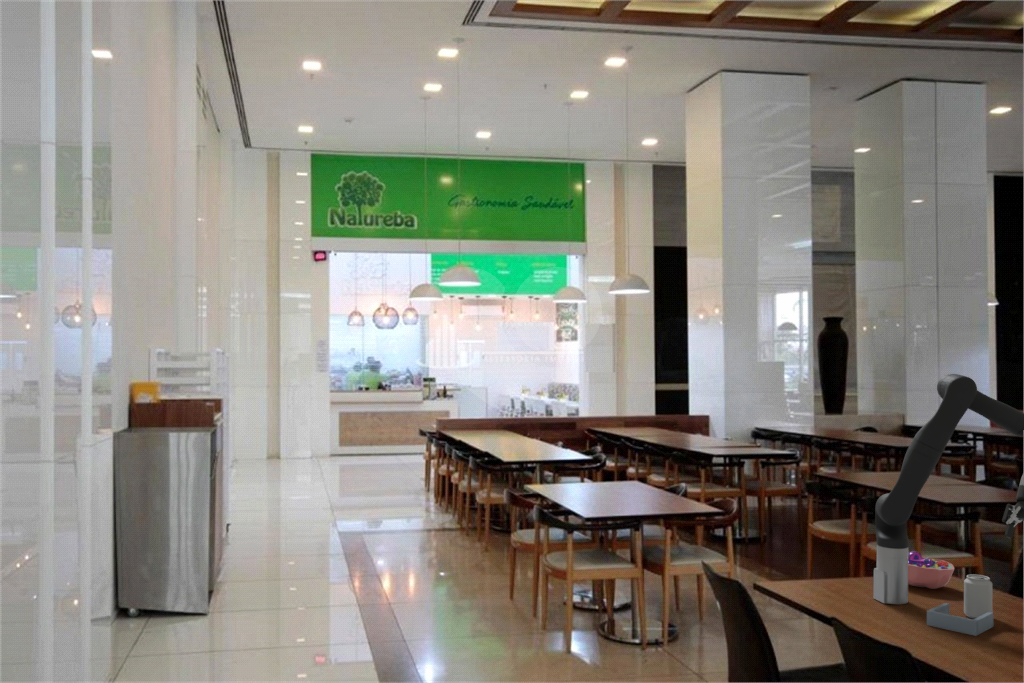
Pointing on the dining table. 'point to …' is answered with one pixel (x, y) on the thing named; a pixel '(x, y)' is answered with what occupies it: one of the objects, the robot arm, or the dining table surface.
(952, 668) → the dining table surface
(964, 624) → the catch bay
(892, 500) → the robot arm
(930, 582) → the cell model
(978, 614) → the can
